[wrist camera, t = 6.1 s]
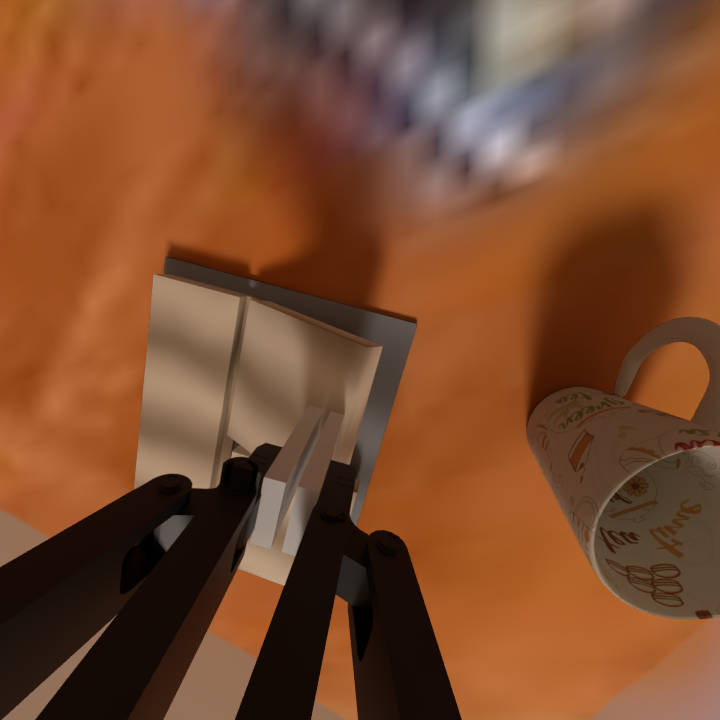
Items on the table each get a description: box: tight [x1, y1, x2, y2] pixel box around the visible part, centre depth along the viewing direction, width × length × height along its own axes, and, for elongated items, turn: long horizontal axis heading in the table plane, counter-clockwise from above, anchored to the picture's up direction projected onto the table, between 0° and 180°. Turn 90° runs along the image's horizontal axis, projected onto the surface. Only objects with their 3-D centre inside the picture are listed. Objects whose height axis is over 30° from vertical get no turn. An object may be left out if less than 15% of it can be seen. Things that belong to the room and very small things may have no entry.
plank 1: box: [227, 299, 383, 465], centre depth 21 cm, size 10×9×2 cm
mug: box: [527, 317, 720, 619], centre depth 18 cm, size 8×13×10 cm, turn 168°
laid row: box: [134, 257, 417, 526], centre depth 24 cm, size 22×17×2 cm
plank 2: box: [231, 445, 361, 585], centre depth 25 cm, size 10×9×2 cm
